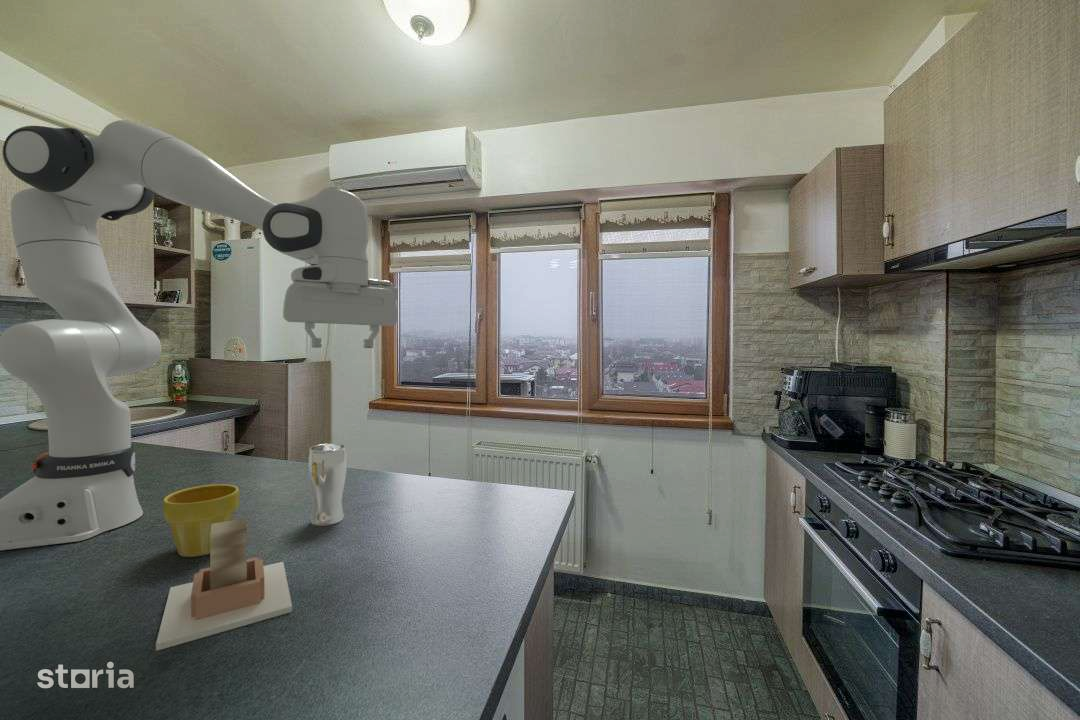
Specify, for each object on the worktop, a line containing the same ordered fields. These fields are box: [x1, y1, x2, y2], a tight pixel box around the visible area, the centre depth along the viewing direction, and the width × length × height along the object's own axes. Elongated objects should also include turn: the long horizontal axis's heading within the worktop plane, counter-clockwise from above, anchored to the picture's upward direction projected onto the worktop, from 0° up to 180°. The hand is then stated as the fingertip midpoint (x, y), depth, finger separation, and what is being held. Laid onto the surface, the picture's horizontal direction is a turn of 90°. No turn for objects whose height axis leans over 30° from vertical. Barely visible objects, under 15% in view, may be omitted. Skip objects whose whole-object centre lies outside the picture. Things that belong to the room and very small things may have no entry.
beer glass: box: [307, 442, 348, 527], centre depth 89 cm, size 7×7×15 cm
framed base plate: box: [155, 556, 293, 651], centre depth 61 cm, size 14×14×4 cm
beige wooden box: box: [209, 517, 248, 590], centre depth 61 cm, size 4×4×10 cm
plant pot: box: [162, 483, 240, 558], centre depth 76 cm, size 10×10×10 cm
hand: (343, 347), depth 86 cm, fingers open, 8 cm apart
